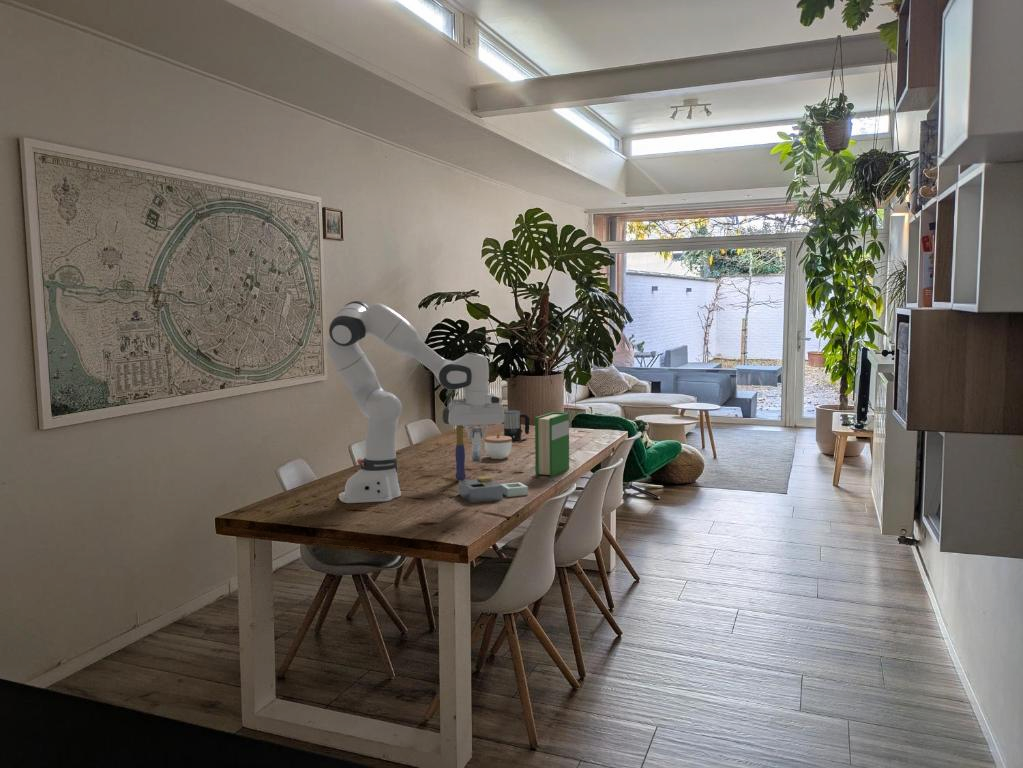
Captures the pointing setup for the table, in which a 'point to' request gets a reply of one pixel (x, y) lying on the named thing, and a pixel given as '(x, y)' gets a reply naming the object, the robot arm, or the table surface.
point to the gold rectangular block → (484, 478)
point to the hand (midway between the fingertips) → (476, 437)
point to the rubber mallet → (457, 448)
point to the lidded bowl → (498, 446)
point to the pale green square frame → (514, 489)
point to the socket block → (480, 490)
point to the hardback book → (552, 443)
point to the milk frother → (515, 424)
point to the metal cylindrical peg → (476, 444)
